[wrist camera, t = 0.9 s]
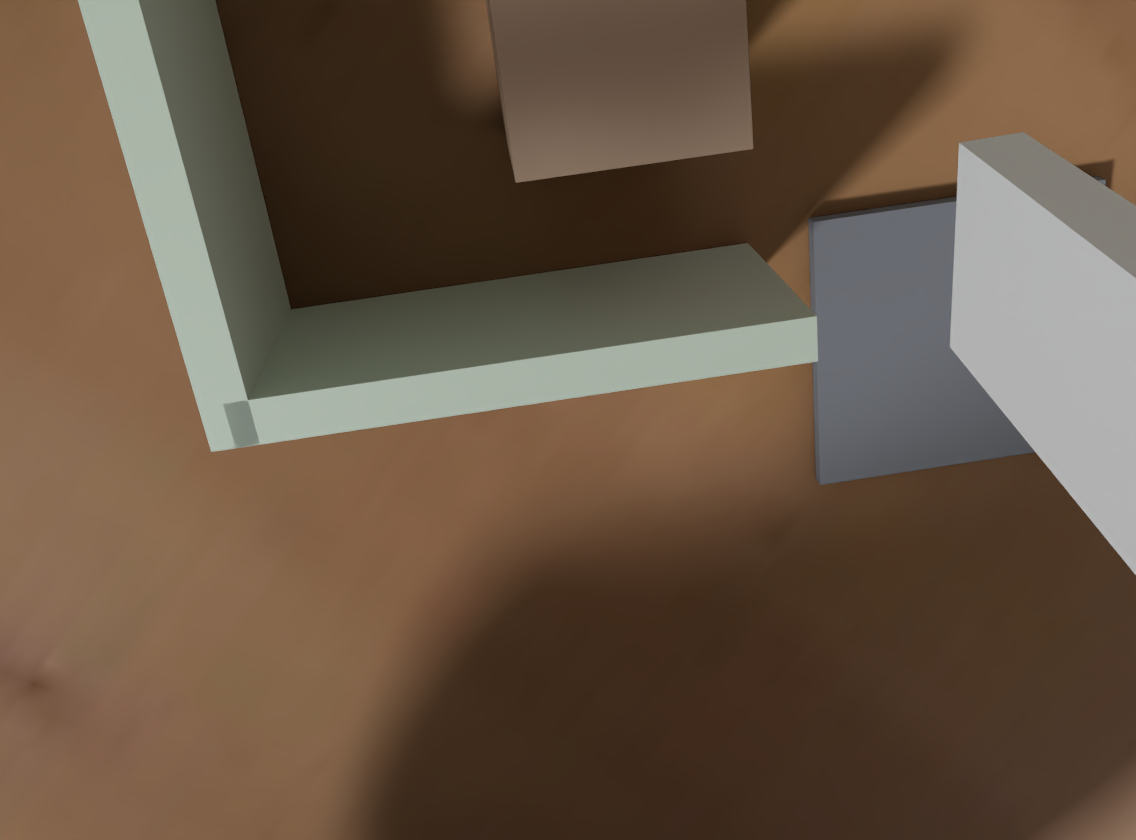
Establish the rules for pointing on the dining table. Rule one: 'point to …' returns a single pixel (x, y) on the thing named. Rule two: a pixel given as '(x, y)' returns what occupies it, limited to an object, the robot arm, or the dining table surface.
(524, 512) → the dining table surface
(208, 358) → the u-shaped panel enclosure
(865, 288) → the coaster
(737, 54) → the walnut block
